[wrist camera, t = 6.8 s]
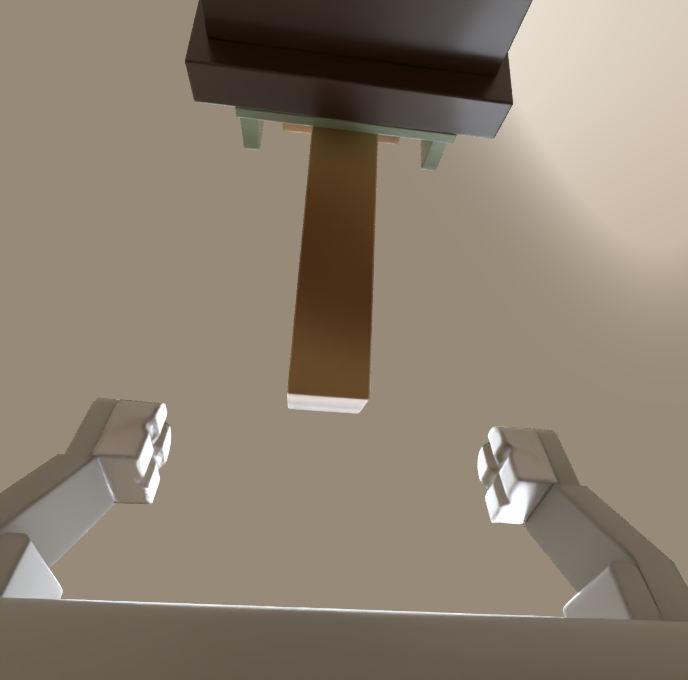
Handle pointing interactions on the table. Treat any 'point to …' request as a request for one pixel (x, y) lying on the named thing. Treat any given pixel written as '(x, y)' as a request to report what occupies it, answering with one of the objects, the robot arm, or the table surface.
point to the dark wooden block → (359, 65)
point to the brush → (335, 272)
